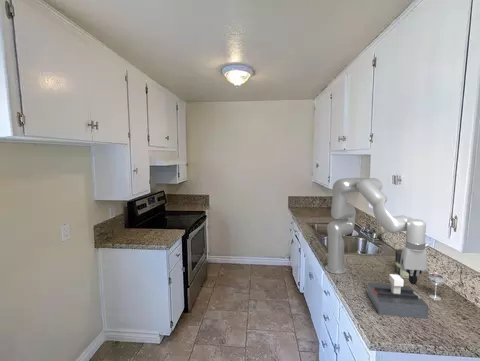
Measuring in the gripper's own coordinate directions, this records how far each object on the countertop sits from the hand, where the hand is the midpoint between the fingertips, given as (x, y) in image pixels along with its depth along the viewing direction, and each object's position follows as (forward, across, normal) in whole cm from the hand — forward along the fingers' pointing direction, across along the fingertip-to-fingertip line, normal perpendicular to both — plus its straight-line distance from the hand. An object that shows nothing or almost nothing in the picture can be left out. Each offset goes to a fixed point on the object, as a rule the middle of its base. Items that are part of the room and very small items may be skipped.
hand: (412, 283), depth 125 cm
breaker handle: (+6, +7, 0) cm, 9 cm away
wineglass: (+12, -16, -11) cm, 23 cm away
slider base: (+12, +7, 0) cm, 14 cm away
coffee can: (+12, -12, -37) cm, 41 cm away
